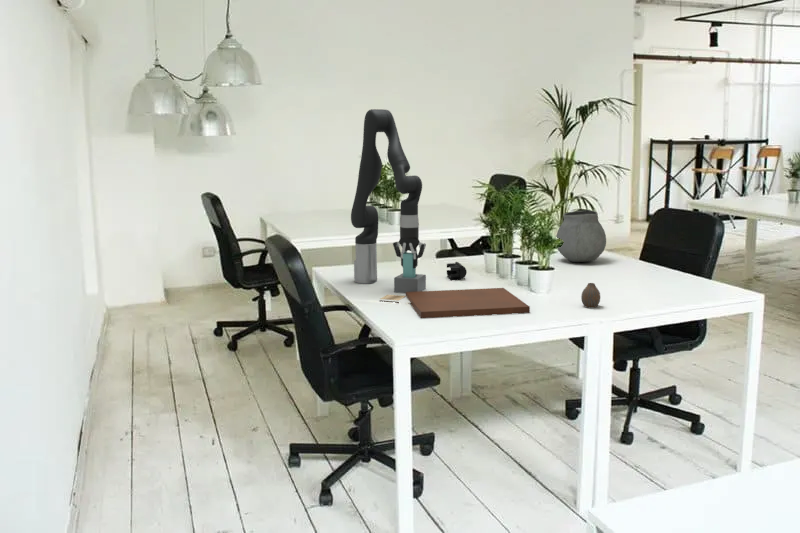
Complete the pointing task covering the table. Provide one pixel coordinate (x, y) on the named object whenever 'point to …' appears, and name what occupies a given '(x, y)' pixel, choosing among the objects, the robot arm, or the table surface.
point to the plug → (408, 265)
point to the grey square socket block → (409, 283)
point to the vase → (590, 296)
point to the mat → (392, 298)
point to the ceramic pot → (581, 236)
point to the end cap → (456, 271)
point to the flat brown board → (465, 302)
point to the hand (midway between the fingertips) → (409, 267)
